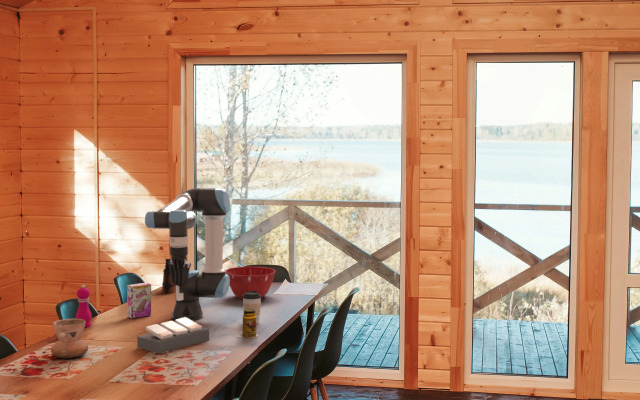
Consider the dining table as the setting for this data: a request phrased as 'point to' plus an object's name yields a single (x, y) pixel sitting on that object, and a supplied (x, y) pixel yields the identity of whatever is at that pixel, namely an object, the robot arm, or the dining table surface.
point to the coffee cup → (252, 302)
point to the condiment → (249, 324)
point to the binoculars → (167, 281)
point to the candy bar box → (138, 300)
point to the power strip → (172, 341)
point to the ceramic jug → (69, 338)
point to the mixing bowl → (250, 280)
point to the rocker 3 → (188, 324)
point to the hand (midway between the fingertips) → (179, 300)
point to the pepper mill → (84, 306)
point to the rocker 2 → (174, 328)
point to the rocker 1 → (159, 331)
